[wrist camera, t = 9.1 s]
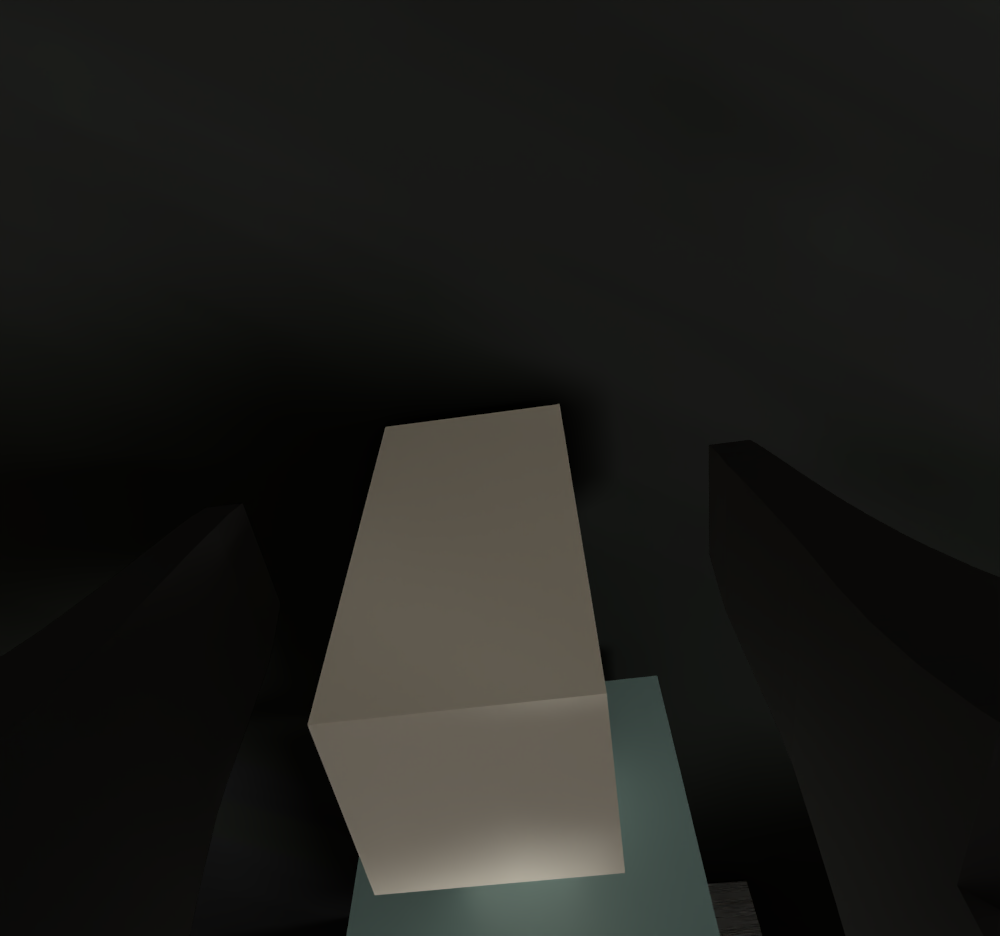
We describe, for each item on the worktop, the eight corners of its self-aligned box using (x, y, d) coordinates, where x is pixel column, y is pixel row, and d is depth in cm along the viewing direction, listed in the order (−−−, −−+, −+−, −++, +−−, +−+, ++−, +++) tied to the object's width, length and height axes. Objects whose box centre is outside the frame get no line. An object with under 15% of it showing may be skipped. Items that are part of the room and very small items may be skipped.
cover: (636, 394, 13) (741, 678, 7) (664, 866, 20) (728, 1197, 14) (311, 436, 13) (183, 738, 8) (448, 885, 20) (431, 1215, 15)
